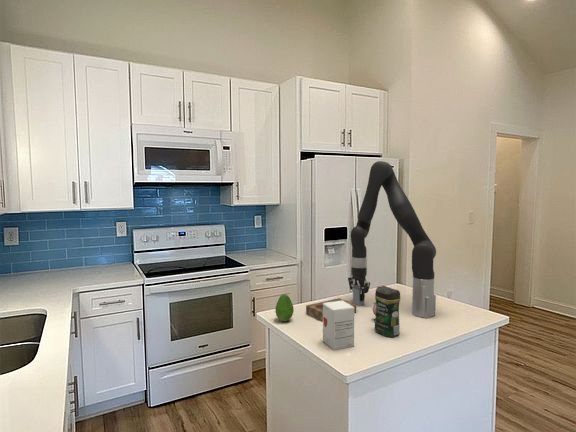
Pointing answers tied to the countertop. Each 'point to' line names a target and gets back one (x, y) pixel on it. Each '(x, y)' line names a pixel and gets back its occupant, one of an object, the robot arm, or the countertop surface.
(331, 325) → the supplement box
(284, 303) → the avocado
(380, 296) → the coffee jar
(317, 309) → the socket block
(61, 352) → the countertop surface
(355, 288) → the plug
